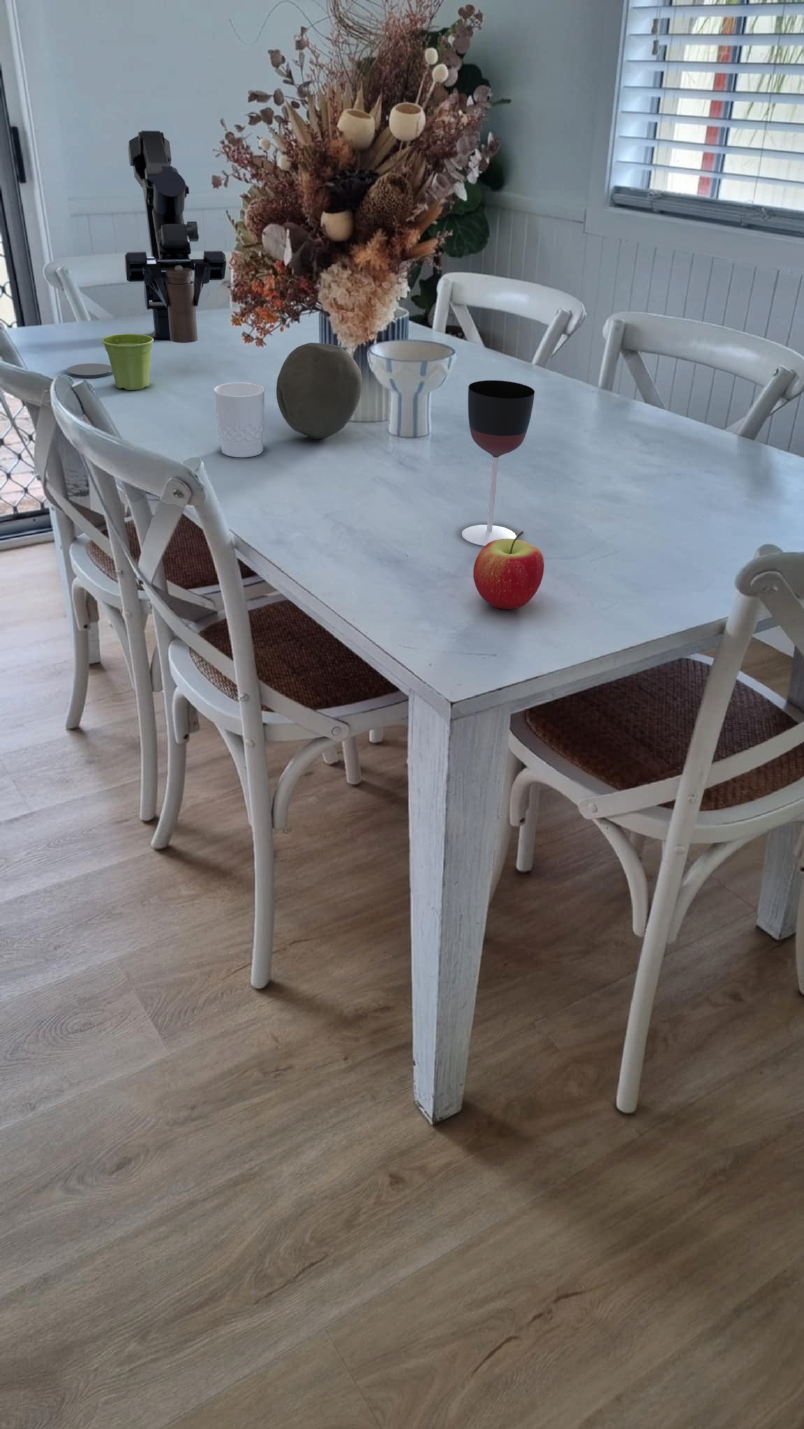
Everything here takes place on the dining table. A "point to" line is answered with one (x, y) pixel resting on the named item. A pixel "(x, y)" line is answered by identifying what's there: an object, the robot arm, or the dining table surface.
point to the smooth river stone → (318, 389)
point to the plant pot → (129, 359)
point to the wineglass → (497, 437)
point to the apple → (508, 572)
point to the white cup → (240, 418)
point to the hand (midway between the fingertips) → (182, 305)
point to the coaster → (89, 370)
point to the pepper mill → (181, 305)
